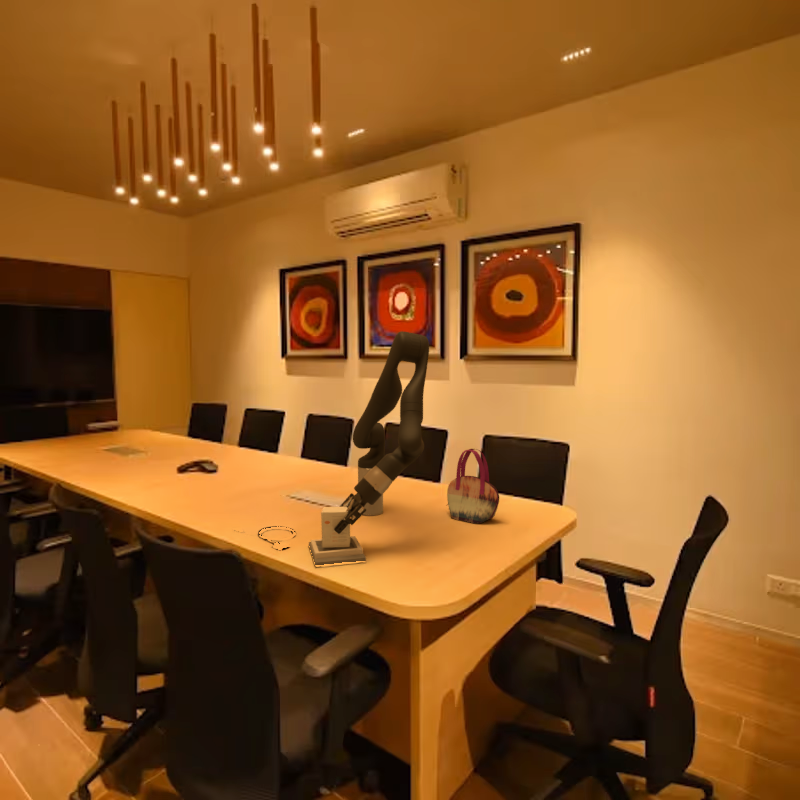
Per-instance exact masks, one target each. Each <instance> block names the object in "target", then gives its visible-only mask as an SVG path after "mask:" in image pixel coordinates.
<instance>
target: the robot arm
mask: <svg viewBox="0 0 800 800" xmlns="http://www.w3.org/2000/svg"><path fill="white" fill-rule="evenodd" d="M429 354H430V342H429V338H428V337H427V336H426V335H422V334H418V333H414V332H409V331H403V330H402V331H401V330H400V331H399V332H397V333H396V334H395V337H394V339H393V341H392V343H391V346H390V349H389V352H388V355H387V358H386V360H385V364H384V367H383V369H382V372H381V374H380V376H379V378H378V381H377V382H376V384H375V386H374V388H373V391H372V393H371V396H370V398H369V401H368V402H367V405H366V407H365V409H364V411H363V413H362V414H361V416H360V418H359V419H358V421H357V423H356V425H355V426H354V429H353V434H352V442H353V445H354V446H355V447H356V448H357V449H361V450H363V449H364V450H365V449H369V450H368V452H367V453H365V454H364V455H362V456H361V457H359V458H358V459H357V484H356V485H355V486H354V487H353V489H354V491H355V492H356V493H355V494H354V493H353V492H352V493H350V494H349V495H348V496H347V497H346V498H345V500H344V501H343V502H342V503H341V504H340V505H339V506H338V507H347V508H348V509H347V510H346V512H347V514H346V515H345V516H344V518H343V519H342V520H341V521H340V522H339V523H338V524H337V525H336V526H335V528H334V530H335V531H336V532H337V533H338V534H340V533H341V532H342V531H343V530H344V529H345V528H346V527H347V525H350V526H353V525H354V524H355V523H356V522H357V521H358V520H359V519H360V518H361V517H362V516H377V515H381V514H383V513H384V494H385V492H386V491H388V489H389V488H390V486H391V485H392V483H393V482H394V481H395V480H396V479H397V478H398V477H399V476H400V475H401V473H402V472H403V471H404V470H406V469H407V468H408V467H409V466H410V465H411V464H413V463H414V462H415V461H417V460H418V458H419V457H420V456H421V455H422V454H423V451H424V449H425V442H424V439H423V437H422V436H423V435H422V423H423V419H424V393H425V392H424V390H425V382H426V377H427V369H428V363H429V356H430V355H429ZM401 362H406V363H412V364H414V366H415V368H414V372H413V375H412V377H411V378H410V380H409V382H408V384H407V385H406V386H405V387H404V389H403V385H402V381H401V378H400V374H399V371H398V367H399V366H400V363H401ZM399 402H400V403H399ZM398 403H399V418H400V421H399V428H398V433H397V434H398V435H397V442H398V443H397V444H398V446H397V447H396V448H395V449H394V450H393V451H392V452H390V453H386V452H385V447H386V432H385V428H384V425H383V424H382V423H381V422H380V421H381V420H383V419H384V418H385V417H387V416H388V415H389V414H390V413H392V411H394V409H395V408H396V407H397V404H398ZM385 453H386V454H385Z"/></svg>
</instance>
